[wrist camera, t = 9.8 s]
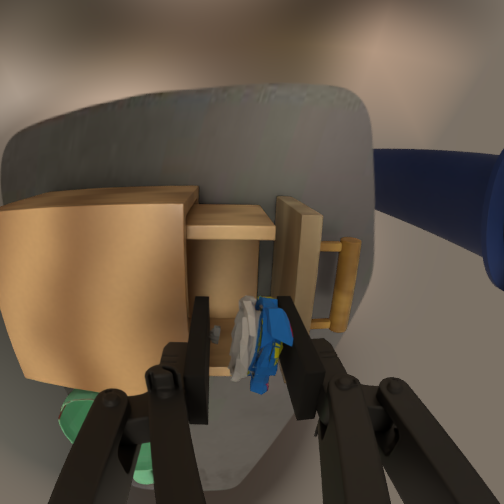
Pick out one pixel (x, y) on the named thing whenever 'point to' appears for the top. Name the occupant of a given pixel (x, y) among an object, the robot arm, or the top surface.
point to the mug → (74, 417)
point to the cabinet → (95, 283)
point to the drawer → (246, 265)
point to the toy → (256, 340)
